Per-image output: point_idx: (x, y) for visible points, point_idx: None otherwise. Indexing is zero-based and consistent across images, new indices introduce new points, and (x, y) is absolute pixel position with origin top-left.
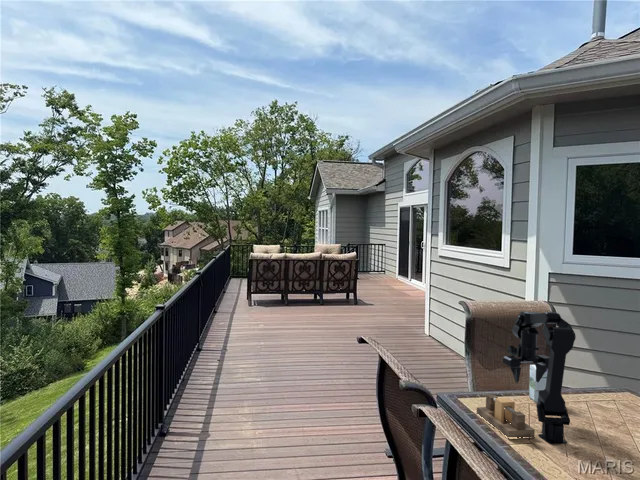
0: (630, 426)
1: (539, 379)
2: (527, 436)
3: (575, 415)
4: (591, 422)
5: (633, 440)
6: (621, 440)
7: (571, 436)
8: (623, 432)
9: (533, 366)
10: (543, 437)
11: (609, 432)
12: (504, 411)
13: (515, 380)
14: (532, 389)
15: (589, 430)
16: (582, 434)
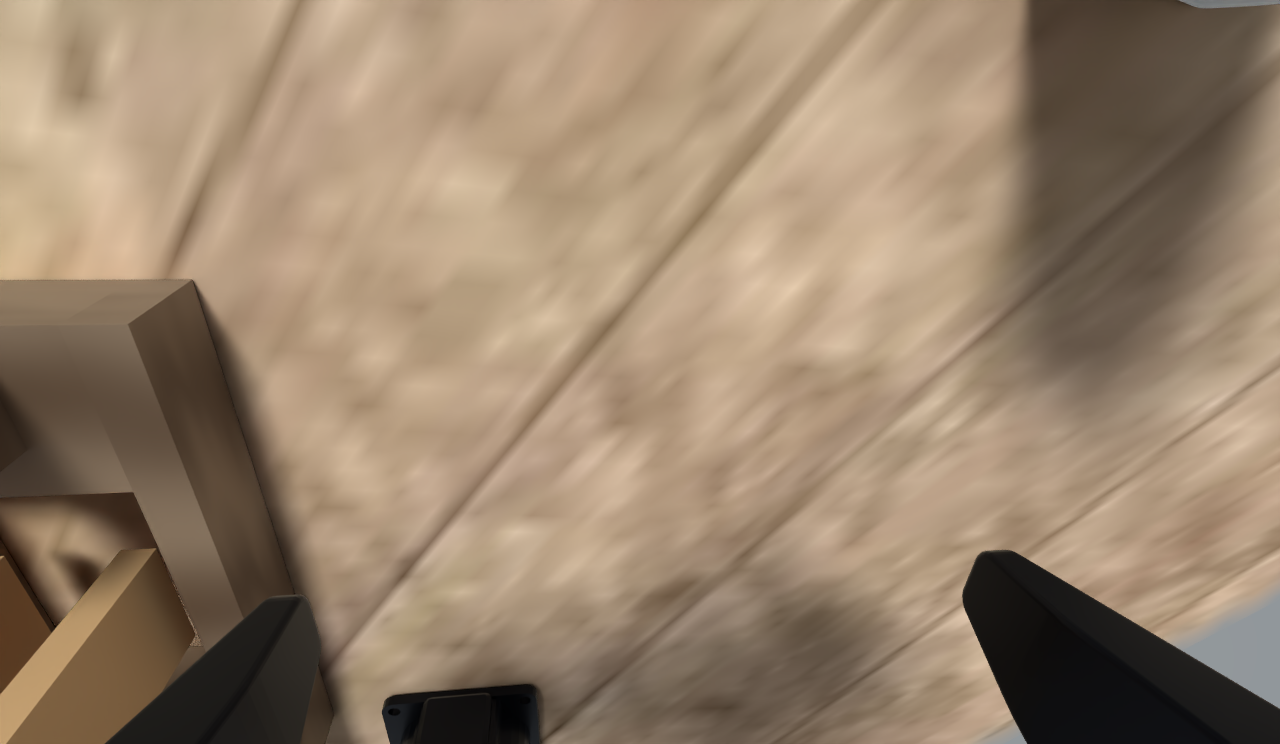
0: (1242, 587)
1: (1025, 698)
2: None
3: (1082, 400)
4: (1051, 526)
5: (1009, 723)
6: (938, 725)
7: (657, 693)
8: None
9: None
10: (397, 739)
11: None
12: (135, 489)
13: (229, 664)
14: None
15: (882, 629)
16: (767, 672)
